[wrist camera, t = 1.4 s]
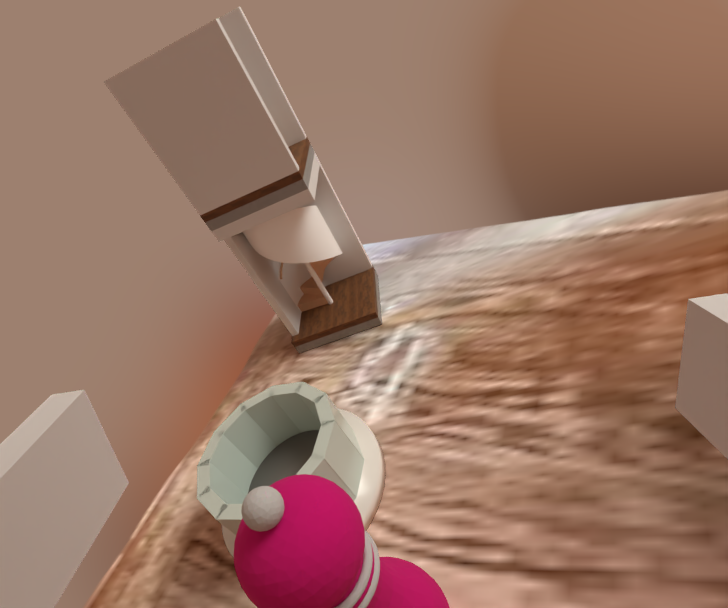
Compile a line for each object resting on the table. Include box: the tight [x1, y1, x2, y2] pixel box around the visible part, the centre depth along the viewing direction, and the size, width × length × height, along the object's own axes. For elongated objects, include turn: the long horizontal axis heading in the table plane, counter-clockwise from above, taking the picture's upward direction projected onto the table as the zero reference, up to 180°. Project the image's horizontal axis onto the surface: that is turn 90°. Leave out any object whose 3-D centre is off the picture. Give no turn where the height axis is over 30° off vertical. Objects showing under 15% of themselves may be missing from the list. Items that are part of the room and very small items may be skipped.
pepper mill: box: [234, 474, 449, 608], centre depth 25 cm, size 7×7×20 cm
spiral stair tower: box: [104, 7, 382, 353], centre depth 53 cm, size 11×11×35 cm
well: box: [197, 382, 386, 558], centre depth 42 cm, size 16×16×8 cm
